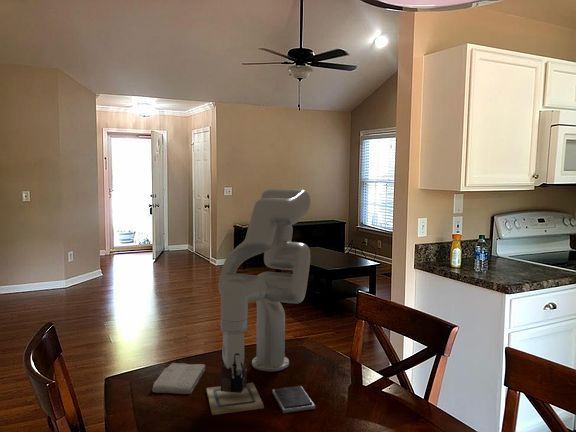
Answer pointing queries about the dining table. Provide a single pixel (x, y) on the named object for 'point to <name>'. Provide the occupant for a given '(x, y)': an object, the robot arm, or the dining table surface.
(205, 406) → the dining table surface
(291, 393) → the ink pad
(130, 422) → the dining table surface
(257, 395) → the board
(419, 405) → the dining table surface
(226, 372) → the box
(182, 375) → the washcloth
